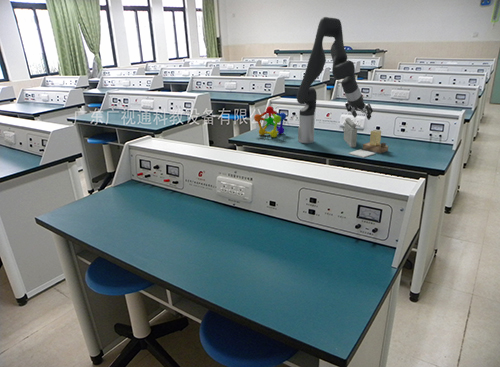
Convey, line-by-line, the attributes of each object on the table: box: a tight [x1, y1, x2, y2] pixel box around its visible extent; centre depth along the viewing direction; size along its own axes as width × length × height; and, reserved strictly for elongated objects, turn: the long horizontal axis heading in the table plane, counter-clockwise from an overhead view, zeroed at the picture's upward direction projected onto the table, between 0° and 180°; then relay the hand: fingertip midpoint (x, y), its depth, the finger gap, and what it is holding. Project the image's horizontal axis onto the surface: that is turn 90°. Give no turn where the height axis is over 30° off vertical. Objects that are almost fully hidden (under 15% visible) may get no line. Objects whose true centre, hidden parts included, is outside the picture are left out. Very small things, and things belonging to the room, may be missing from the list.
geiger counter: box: [342, 117, 358, 148], centre depth 222 cm, size 14×6×25 cm
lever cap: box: [369, 129, 382, 146], centre depth 204 cm, size 4×4×8 cm
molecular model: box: [253, 105, 287, 138], centre depth 246 cm, size 21×15×20 cm
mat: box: [348, 148, 376, 159], centre depth 200 cm, size 10×10×1 cm
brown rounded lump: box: [362, 141, 389, 155], centre depth 205 cm, size 12×7×5 cm, turn 35°
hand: (362, 117), depth 195 cm, fingers open, 8 cm apart
